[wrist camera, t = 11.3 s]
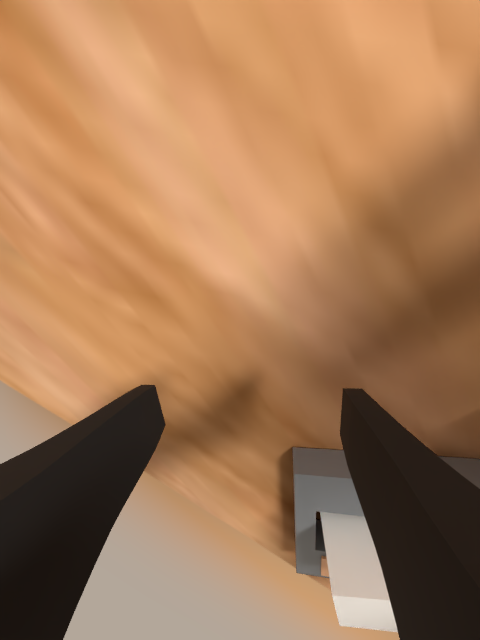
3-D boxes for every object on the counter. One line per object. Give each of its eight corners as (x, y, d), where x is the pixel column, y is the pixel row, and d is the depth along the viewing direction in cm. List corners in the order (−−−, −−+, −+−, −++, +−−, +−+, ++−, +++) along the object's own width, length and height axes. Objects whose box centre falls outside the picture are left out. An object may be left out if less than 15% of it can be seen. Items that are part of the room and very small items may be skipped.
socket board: (536, 462, 17) (578, 500, 15) (487, 568, 22) (513, 610, 20) (292, 447, 21) (294, 476, 18) (295, 542, 26) (296, 575, 23)
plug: (361, 489, 21) (397, 601, 15) (365, 517, 23) (400, 632, 16) (316, 489, 22) (332, 595, 16) (323, 517, 23) (339, 625, 17)
